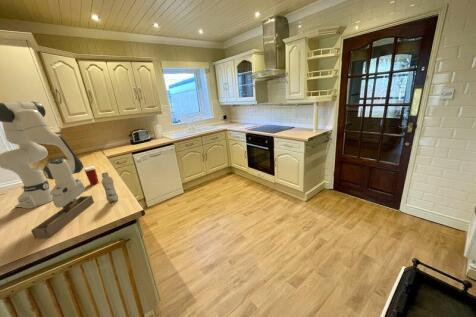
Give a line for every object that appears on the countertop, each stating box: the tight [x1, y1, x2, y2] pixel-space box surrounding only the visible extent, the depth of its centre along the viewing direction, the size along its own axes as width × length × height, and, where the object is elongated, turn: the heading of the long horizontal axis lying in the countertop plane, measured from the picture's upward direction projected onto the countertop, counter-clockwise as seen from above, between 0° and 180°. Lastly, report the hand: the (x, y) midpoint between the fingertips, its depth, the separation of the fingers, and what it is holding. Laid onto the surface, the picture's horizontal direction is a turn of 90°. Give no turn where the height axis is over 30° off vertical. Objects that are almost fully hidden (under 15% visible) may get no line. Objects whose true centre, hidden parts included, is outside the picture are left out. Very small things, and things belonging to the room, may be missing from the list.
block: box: [62, 202, 77, 213], centre depth 120 cm, size 4×4×4 cm
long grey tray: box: [30, 195, 95, 240], centre depth 118 cm, size 8×34×5 cm, turn 0°
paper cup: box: [83, 165, 100, 186], centre depth 164 cm, size 8×8×14 cm
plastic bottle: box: [100, 172, 119, 203], centre depth 131 cm, size 6×7×20 cm
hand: (74, 205), depth 123 cm, fingers closed, pressing on block
